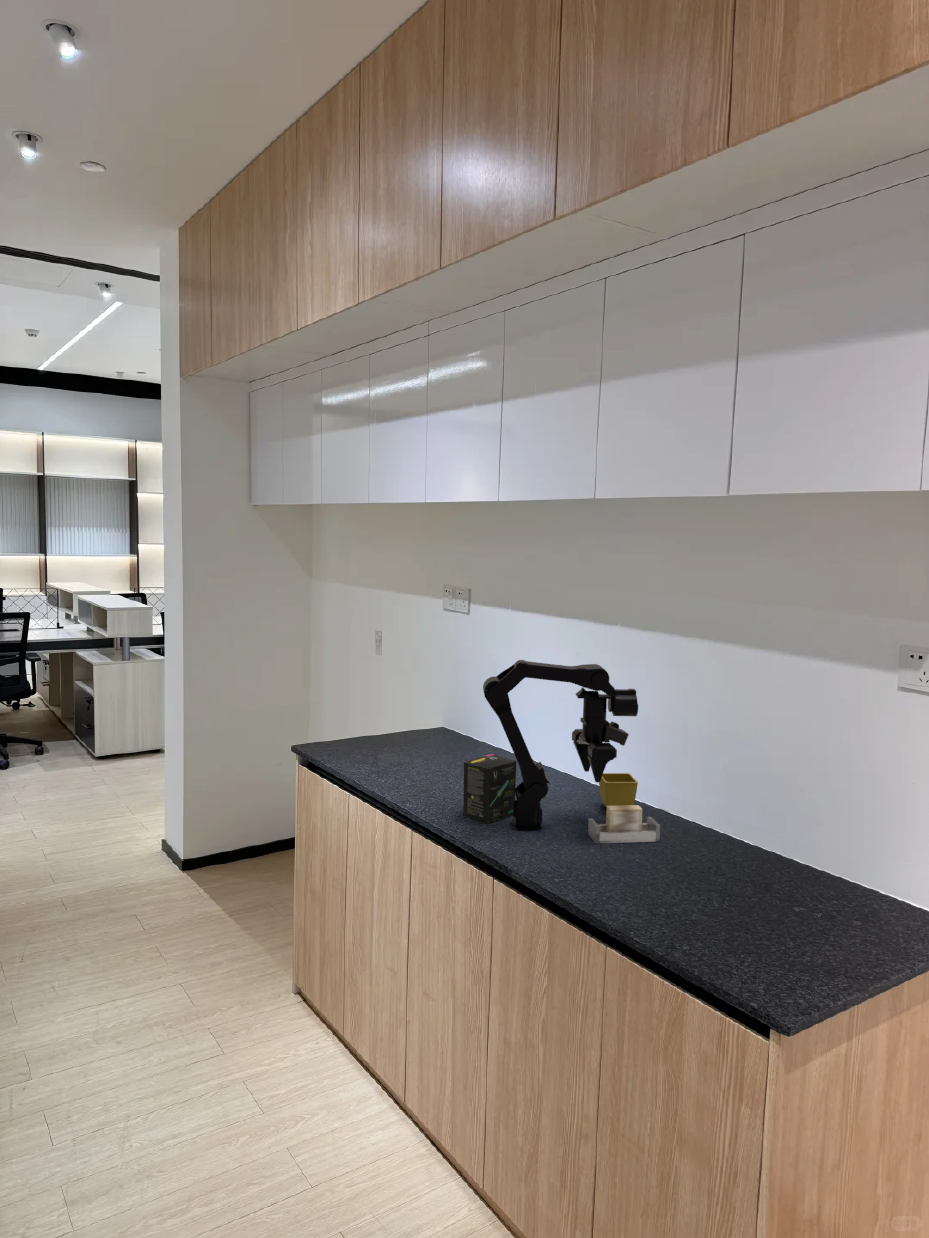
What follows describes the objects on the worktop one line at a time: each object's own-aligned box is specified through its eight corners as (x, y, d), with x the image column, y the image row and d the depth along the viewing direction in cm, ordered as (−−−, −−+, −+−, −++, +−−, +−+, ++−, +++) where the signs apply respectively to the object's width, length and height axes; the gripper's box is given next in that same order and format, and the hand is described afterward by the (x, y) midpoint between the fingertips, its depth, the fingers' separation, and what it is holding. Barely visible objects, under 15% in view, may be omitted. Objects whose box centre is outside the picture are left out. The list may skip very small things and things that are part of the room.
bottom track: (595, 843, 198) (596, 827, 198) (588, 834, 205) (588, 818, 204) (659, 841, 201) (660, 825, 200) (650, 832, 207) (650, 816, 206)
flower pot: (596, 804, 227) (598, 772, 226) (628, 804, 228) (629, 772, 227) (604, 815, 218) (605, 782, 217) (637, 815, 219) (638, 782, 218)
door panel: (609, 838, 200) (610, 810, 200) (605, 833, 204) (606, 805, 203) (641, 837, 202) (642, 809, 201) (637, 832, 205) (638, 805, 204)
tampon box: (489, 805, 224) (491, 752, 223) (515, 814, 218) (517, 759, 216) (461, 815, 216) (462, 760, 215) (487, 824, 210) (489, 767, 208)
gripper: (638, 723, 199) (635, 787, 200) (613, 707, 217) (611, 765, 219) (593, 724, 197) (591, 788, 199) (572, 707, 215) (570, 766, 217)
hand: (592, 776), depth 208 cm, fingers open, 9 cm apart
